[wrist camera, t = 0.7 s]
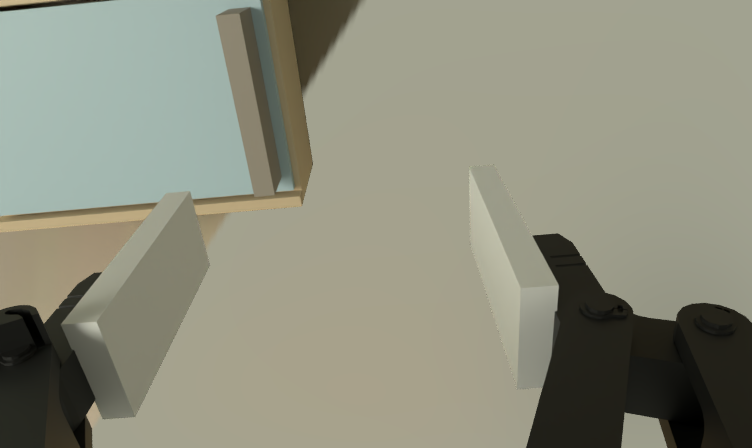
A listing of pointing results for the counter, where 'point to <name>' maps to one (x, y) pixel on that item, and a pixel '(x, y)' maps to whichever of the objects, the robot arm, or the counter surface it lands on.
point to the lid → (137, 104)
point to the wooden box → (301, 169)
